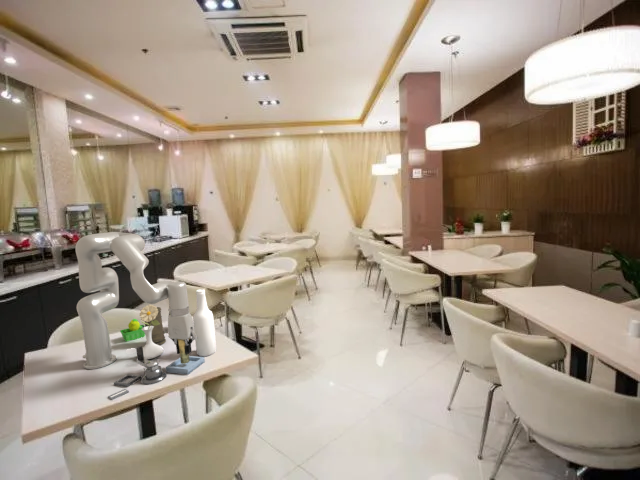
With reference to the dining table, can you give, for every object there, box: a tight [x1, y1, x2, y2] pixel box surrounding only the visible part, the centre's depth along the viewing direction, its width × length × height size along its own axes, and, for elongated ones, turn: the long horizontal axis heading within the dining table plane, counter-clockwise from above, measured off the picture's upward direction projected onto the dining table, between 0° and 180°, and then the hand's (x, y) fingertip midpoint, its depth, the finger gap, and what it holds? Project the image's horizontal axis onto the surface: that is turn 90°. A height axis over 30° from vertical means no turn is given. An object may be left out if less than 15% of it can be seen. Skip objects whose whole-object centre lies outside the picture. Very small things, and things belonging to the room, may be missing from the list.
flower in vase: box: [139, 304, 165, 360], centre depth 158 cm, size 13×11×25 cm
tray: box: [165, 355, 206, 375], centre depth 146 cm, size 11×11×2 cm
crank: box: [135, 345, 159, 371], centre depth 140 cm, size 13×4×7 cm, turn 53°
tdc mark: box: [107, 388, 130, 401], centre depth 127 cm, size 6×3×1 cm, turn 143°
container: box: [144, 306, 167, 346], centre depth 174 cm, size 9×9×18 cm
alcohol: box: [192, 288, 217, 358], centre depth 158 cm, size 9×9×30 cm
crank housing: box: [113, 365, 167, 388], centre depth 137 cm, size 17×12×4 cm
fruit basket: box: [120, 318, 146, 342], centre depth 183 cm, size 11×9×11 cm
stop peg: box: [178, 339, 190, 364], centre depth 145 cm, size 4×4×12 cm
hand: (184, 352), depth 146 cm, fingers closed on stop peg, 3 cm apart
